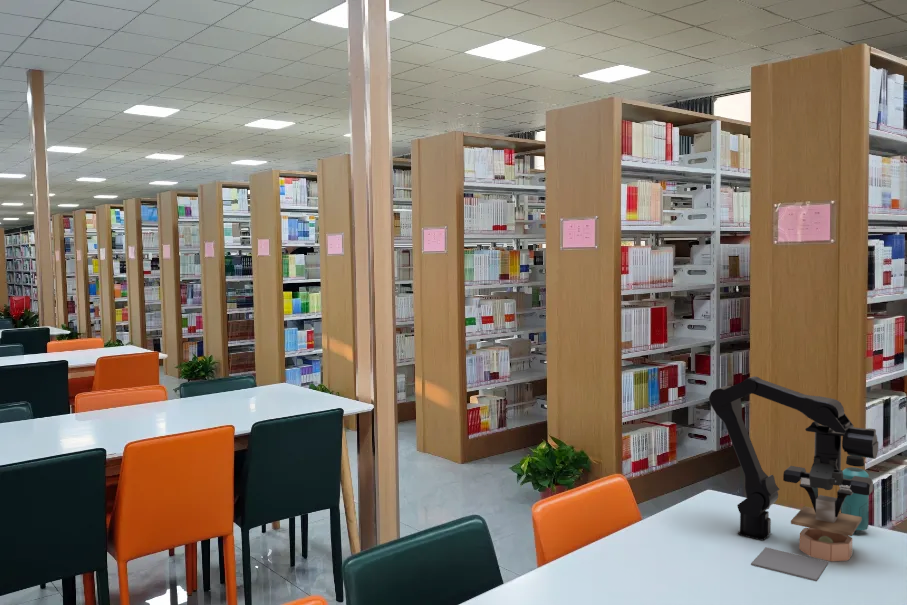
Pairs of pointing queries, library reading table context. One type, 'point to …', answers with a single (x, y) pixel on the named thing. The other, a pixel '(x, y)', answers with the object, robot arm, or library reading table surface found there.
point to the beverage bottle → (855, 502)
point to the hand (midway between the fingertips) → (826, 514)
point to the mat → (790, 563)
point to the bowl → (825, 545)
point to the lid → (826, 517)
